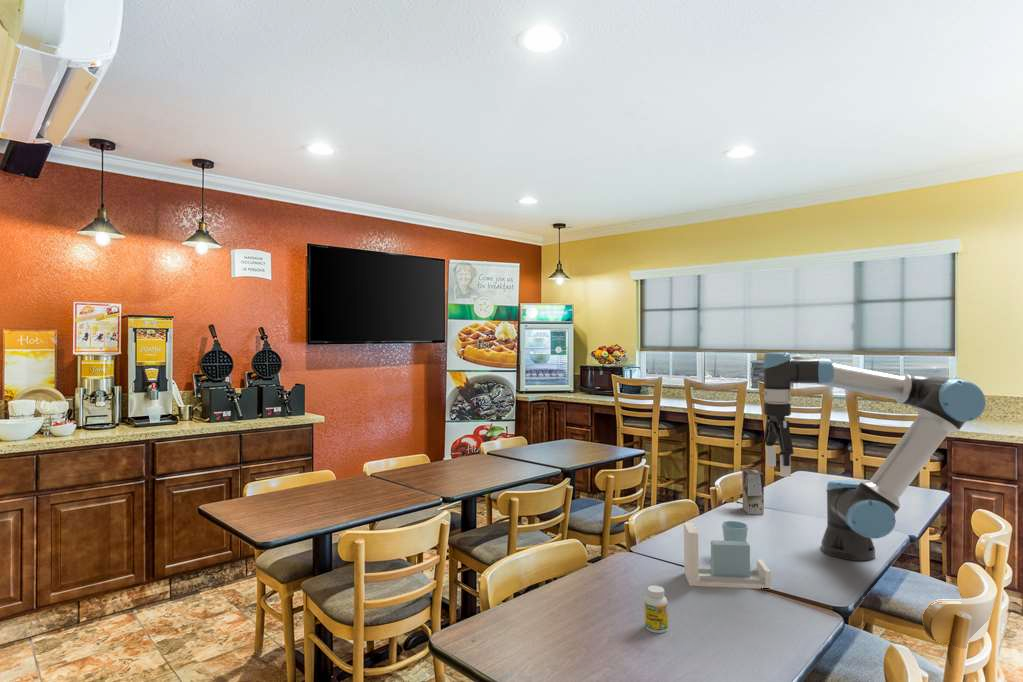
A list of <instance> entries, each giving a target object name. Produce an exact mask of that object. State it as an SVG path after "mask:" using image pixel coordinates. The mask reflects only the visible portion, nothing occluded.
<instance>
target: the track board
mask: <svg viewBox="0 0 1023 682" xmlns="http://www.w3.org/2000/svg"><path fill="white" fill-rule="evenodd" d="M683 538H684V539H683V562H684V563H683V565H684V568H683V569H684V571H683V572H684V576H685V578H686V580H687V582H688V586H689V587H707V588H708V587H711V588H731V589H732V588H733V589H735V588H736V589H753V590H754V589H755V590H764V589H763V588H771V589H772V571H771V570H770V568H769V566H768V565H766V563H765V561H764V560H763V558H756V564H755V565H756V569H754V568H753V569H751V568H750V578H745V577H721V576H712V575H711V567H703V566H702V567H699V532H698V530H697V528H696V527H695V525H694V523H692V522H684V523H683ZM761 588H762V589H761Z"/></svg>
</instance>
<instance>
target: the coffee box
mask: <svg viewBox="0 0 1023 682" xmlns="http://www.w3.org/2000/svg"><path fill="white" fill-rule="evenodd" d="M741 471H742V472H741V473H742V474H741V475H742V477H741V479H742V481H741V482H742V483H741V485H742V488H741V489H742V509H743V510H744V511H745V513H747V515H763V516H764V514H765V511H764V510H765V507H764V506H765V502H764V501H765V499H764V498H765V497H764V496H765V495H764V492H765V490H764V489H765V487H764V486H765V484H764V483H765V479H764V475H765V474H764V473H763V472H761V471H760V470H759V469H757V468H743V469H741Z"/></svg>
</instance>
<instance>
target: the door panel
mask: <svg viewBox="0 0 1023 682" xmlns="http://www.w3.org/2000/svg"><path fill="white" fill-rule="evenodd" d="M710 568H711V575H712V576H721V577H745V578H750V569H751V545H750V544H749V543H748V541H747V540H746V541H724V540H714V539H713V540H712V539H711V540H710Z"/></svg>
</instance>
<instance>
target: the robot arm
mask: <svg viewBox="0 0 1023 682" xmlns="http://www.w3.org/2000/svg"><path fill="white" fill-rule="evenodd" d="M762 368H763V391H762V392H761V393H762V395H763V401H764V402H765V403H764V404H763V413H764V415H765V417H766V421H765V429H764V437H763V442H764V443H765V448H766V449H765V452H766V453H765V455H766V456H765V458H766V459H765V460H766V465H765V466H766V467H777V456H776V455H777V451H776V449H777V442H776V440H777V441H778V444H779V445H778V446H779V449H780V451H779V453H778V454H779V465H780V466H779V469H780V470H779V471H780V473H779V474H780V475H779V476H780V477H783V478H786V477H788V478H790V477H792V476H791V475H792V473H791V472H792V471H791V470H792V467H791V456H792V455H793V454H794V453H795V451H794V447H793V441H792V435H791V429H790V422H789V421H790V420H786V418H785V417H789V416H791V415H792V409H791V408H792V407H791V406H792V404H791V403H790V402H791V401H792V395H791V394H792V391H791V390H792V389H791V387H792V386H791V384H817V385H822V386H827V387H831V388H836V389H843V390H846V391H852V392H857V393H862V394H867V395H873V396H878V397H881V398H888V399H893V400H895V401H896V403H898V404H901V405H906V406H910V407H913V408H915V409H916V413H917V417H916V418H915V420H914V421H913V422H912V423H911V424H910V426H909V428H908V429H907V430H906V431H905V433H904V435H903V436H902V437H901V438H900V439H899V441H898V442H897V444H896V445H895V446H894V447H893V449H892V450H891V451H890V453H889V454H888V455H887V457H886V458H885V460H884V461H883V462H882V464H880V466H879V467H878V468H877V470H876V471H875V473H874V474H873V475H872V477H871V478H870V479H869V480H863V481H857V480H845V479H842V480H841V479H835V480H832V479H831V480H829V481H828V482H827V487H826V490H825V491H826V508H827V509H826V514H827V517H826V518H827V520H826V521H827V522H826V523H827V524H826V528H825V531H824V533H823V537H822V539H821V541H820V542H821V546H820V548H821V550H822V551H823V552H824V553H826V554H828V555H830V556H832V557H835V558H839V559H844V560H848V561H849V560H851V561H870V560H873V559H874V558H876V548H875V545H874V543H873V540H872V539H881V538H883V537H886V536H889V534H890V533H892V532H893V530H894V529H895V526H896V513H897V512H898V511H899V509H900V508H901V503H900V497H901V496H902V495H903V494H904V492H906V490H907V489H908V487H909V486H910V484H912V482H913V480H914V479H915V478H916V477H917V476H918V474H919V473H920V472H921V470H922V469H923V467H924V466H925V465H926V464H927V462H928V461H929V459H930V458H932V456H933V454H934V453H935V452H936V450H937V449H938V448H939V446H941V444H942V443H943V441H944V440H945V439H946V438H947V436H948V435H949V434H950V433H955V432H959V431H960V430H961V428H962V427H963V426H964V424H966V422H971V421H974V420H976V419H979V417H980V416H981V415H983V413H984V412H985V411H984V410H985V409H986V403H987V402H986V398H985V394H984V392H983V391H982V389H981V388H980V387H979V386H978V385H977V384H975V383H973V382H971V381H968V380H965V379H963V378H958V377H957V378H956V377H954V378H952V377H945V376H937V375H935V376H932V375H930V376H928V375H915V374H908V373H903V374H901V375H897V374H891V373H887V372H886V373H885V372H881V371H877V370H876V371H875V370H871V369H870V370H869V369H866V368H865V369H864V368H860V367H854V366H848V365H844V364H837V363H834V362H833V361H832V359H829V358H821V357H820V358H810V357H802V356H798V355H797V356H793V357H791V355H790V353H789V352H766V353H765V354H764V356H763V366H762Z"/></svg>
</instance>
